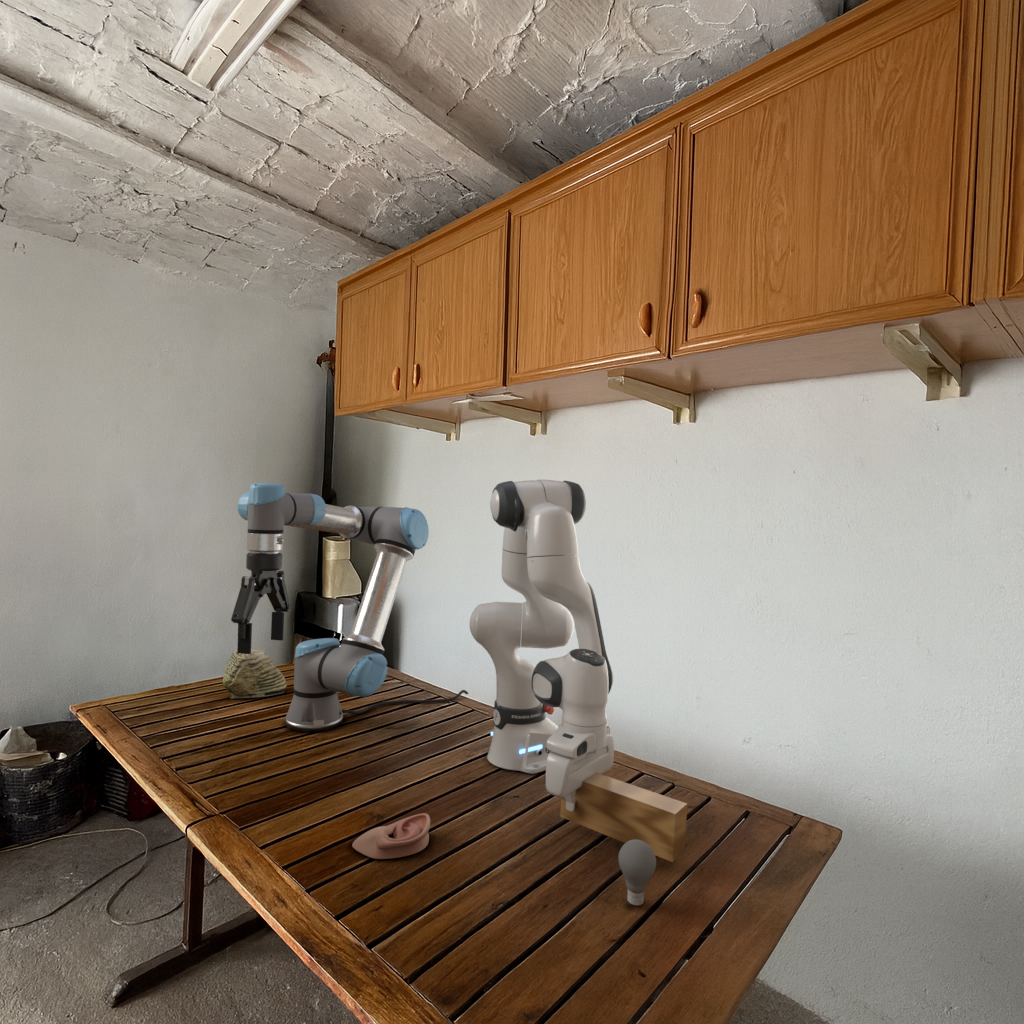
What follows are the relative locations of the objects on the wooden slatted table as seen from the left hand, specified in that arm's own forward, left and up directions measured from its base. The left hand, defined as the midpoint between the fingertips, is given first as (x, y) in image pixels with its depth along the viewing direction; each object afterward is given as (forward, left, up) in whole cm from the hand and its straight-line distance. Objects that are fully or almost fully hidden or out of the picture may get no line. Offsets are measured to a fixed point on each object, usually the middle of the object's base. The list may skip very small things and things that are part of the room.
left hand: (261, 646), depth 142 cm
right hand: (-31, +66, -24) cm, 77 cm away
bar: (-31, +75, -27) cm, 86 cm away
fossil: (-29, -52, -29) cm, 67 cm away
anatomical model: (-2, +44, -29) cm, 53 cm away
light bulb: (-17, +86, -29) cm, 92 cm away
